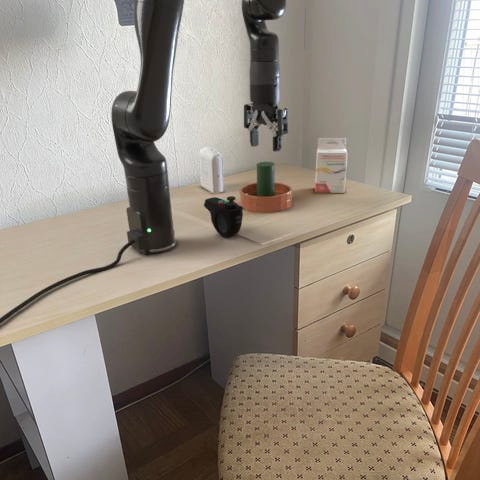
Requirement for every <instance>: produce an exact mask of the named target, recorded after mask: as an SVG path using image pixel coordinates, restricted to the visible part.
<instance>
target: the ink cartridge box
mask: <svg viewBox="0 0 480 480" xmlns="http://www.w3.org/2000/svg"><path fill="white" fill-rule="evenodd" d="M331 142H333V143H335V144H333V143H331ZM347 165H348V150H347V138H346V137H319V138H318V139H317V149H316V161H315V177H314V178H315V181H314V191H315V193H329V194H345V189H346V176H347Z"/></svg>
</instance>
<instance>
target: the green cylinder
mask: <svg viewBox="0 0 480 480" xmlns="http://www.w3.org/2000/svg"><path fill="white" fill-rule="evenodd" d="M275 165H276V163H275V162H272V161H261V162H260V161H259V162H257V163H256V183H257V197H270V196H275V182H276V181H275V180H276V179H275V178H276V177H275V176H276V175H275V171H276V169H275V167H276V166H275Z"/></svg>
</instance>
